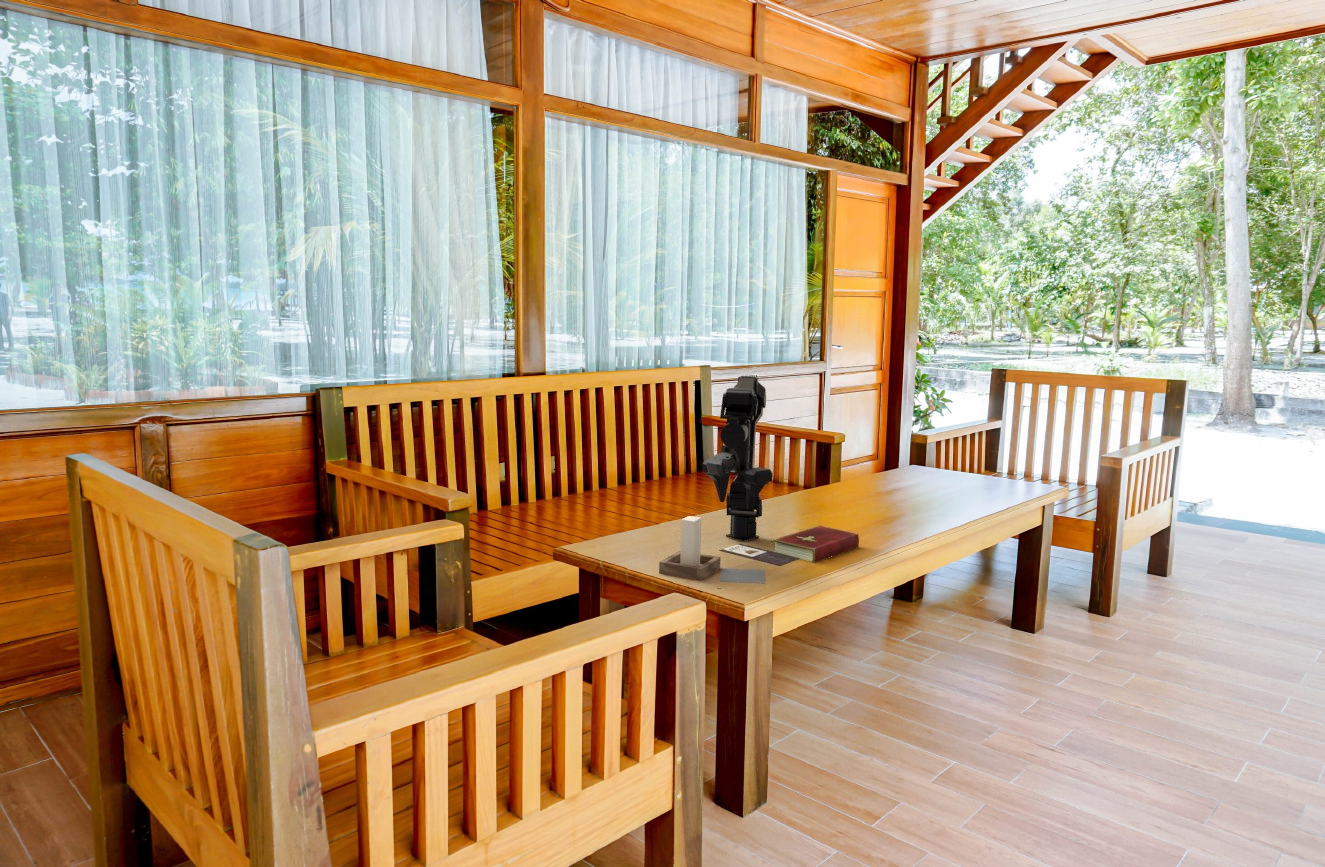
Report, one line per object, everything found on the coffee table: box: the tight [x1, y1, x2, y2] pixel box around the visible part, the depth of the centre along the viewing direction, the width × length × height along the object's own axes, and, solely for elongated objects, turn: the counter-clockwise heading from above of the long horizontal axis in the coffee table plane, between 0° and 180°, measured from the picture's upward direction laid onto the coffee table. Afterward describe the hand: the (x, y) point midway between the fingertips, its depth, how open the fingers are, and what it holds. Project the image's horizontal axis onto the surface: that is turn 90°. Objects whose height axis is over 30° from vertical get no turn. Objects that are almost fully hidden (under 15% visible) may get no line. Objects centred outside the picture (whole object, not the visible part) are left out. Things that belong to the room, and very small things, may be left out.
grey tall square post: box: [680, 515, 702, 567], centre depth 202 cm, size 6×6×12 cm
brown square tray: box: [658, 550, 721, 581], centre depth 203 cm, size 11×11×3 cm
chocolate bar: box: [719, 543, 801, 567], centre depth 217 cm, size 9×1×18 cm
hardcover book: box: [772, 524, 860, 563], centre depth 223 cm, size 12×21×4 cm, turn 137°
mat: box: [719, 567, 766, 585], centre depth 200 cm, size 10×10×1 cm
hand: (735, 505), depth 213 cm, fingers open, 9 cm apart
